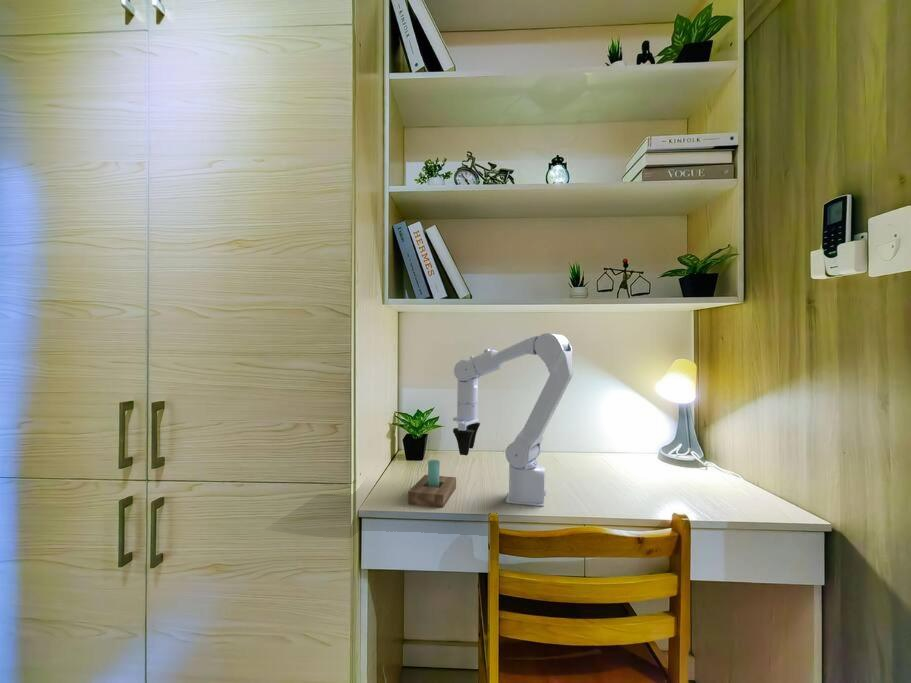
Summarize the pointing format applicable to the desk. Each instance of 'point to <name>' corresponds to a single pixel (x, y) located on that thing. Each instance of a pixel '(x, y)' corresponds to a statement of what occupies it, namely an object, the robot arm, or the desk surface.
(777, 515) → the desk surface
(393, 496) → the desk surface
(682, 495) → the desk surface
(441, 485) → the hole block
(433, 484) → the peg
